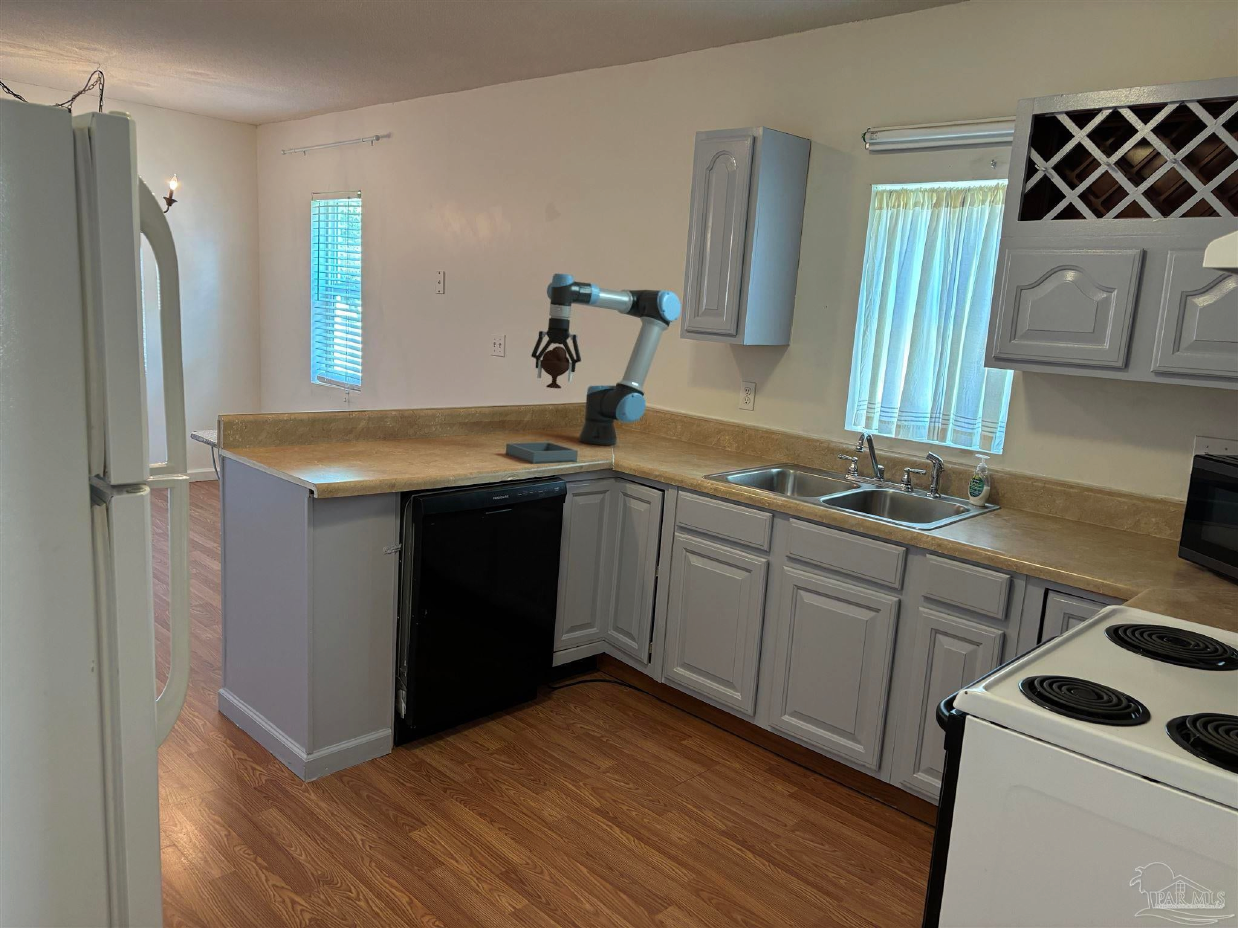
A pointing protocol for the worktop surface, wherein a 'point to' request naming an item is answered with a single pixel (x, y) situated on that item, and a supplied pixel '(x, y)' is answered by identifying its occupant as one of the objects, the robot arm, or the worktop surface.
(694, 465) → the worktop surface
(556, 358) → the ice cream bowl
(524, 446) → the charcoal bin
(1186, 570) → the worktop surface
